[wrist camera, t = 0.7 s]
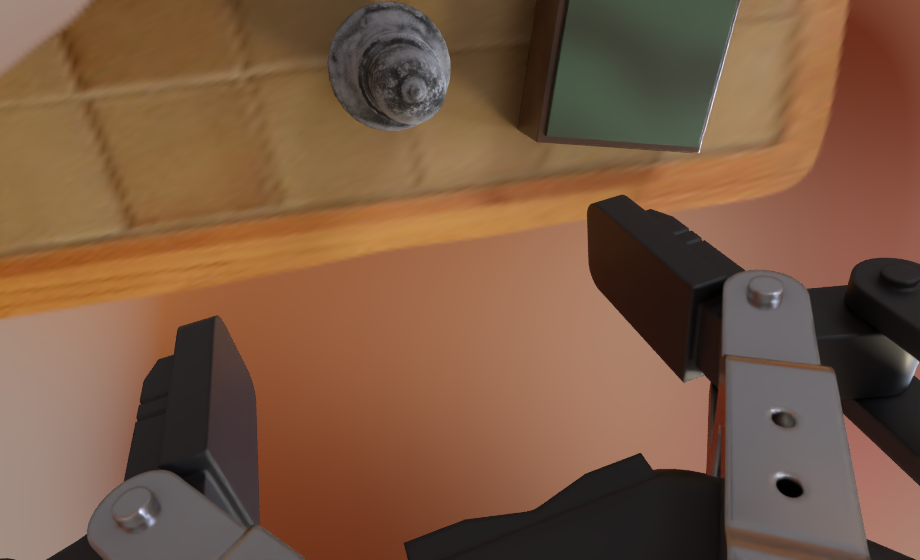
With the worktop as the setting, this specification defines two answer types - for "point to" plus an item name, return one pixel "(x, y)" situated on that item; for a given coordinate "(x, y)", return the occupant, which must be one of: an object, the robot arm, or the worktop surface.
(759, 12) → the worktop surface
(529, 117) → the walnut stand
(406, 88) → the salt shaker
